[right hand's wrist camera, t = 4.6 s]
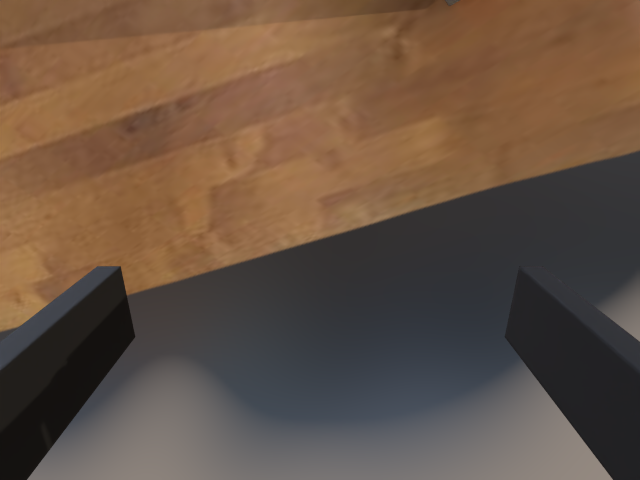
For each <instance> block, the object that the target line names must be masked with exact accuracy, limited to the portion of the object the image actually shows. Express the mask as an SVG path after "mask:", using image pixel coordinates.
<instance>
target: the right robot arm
mask: <svg viewBox="0 0 640 480" xmlns="http://www.w3.org/2000/svg"><path fill="white" fill-rule="evenodd" d="M134 338H135V334H134V329H133V324H132V319H131V314H130V310H129V305H128V300H127V295H126V290H125V285H124V281H123V276H122V271H121V266H97V267H96V268H95V269H93V270H92V271H91V272H89V273H88V274H87V275H86V276H84V277H83V278H82V279H80V280H79V281H78V282H77V283H75V284H74V285H73V286H71V287H70V288H69V289H68V290H66V291H65V292H64V293H62V294H61V295H60V296H59V297H57V298H56V299H55V300H53V301H52V302H51V303H50V304H48V305H47V306H46V307H44V308H43V309H42V310H41V311H39V312H38V313H37V314H35V315H34V316H33V317H32V318H30V319H29V320H28V321H26V322H25V323H24V324H23V325H21V326H20V327H19V328H17V329H16V330H15V331H14V332H12V333H11V334H10V335H8V336H7V337H6V338H4V339H3V340H2V341H1V342H0V480H27V479H28V477H29V476H30V475H31V474H32V472H33V471H34V470H35V468H36V467H37V466H38V464H39V463H40V462H41V460H42V459H43V458H44V456H45V455H46V454H47V452H48V451H49V450H50V448H51V447H52V446H53V445H54V443H55V442H56V441H57V439H58V438H59V437H60V435H61V434H62V433H63V431H64V430H65V429H66V427H67V426H68V425H69V423H70V422H71V421H72V419H73V418H74V417H75V416H76V414H77V413H78V412H79V410H80V409H81V408H82V406H83V405H84V404H85V402H86V401H87V400H88V398H89V397H90V396H91V395H92V393H93V392H94V391H95V389H96V388H97V387H98V385H99V384H100V383H101V381H102V380H103V379H104V377H105V376H106V375H107V373H108V372H109V371H110V369H111V368H112V367H113V366H114V364H115V363H116V362H117V360H118V359H119V358H120V356H121V355H122V354H123V352H124V351H125V350H126V348H127V347H128V346H129V344H130V343H131V342H132V341H133V339H134ZM505 338H506V339H507V341H508V342H509V343H510V344H511V346H512V347H513V348H514V350H515V351H516V352H517V354H518V355H519V356H520V358H521V359H522V360H523V362H524V363H525V364H526V366H527V367H528V368H529V369H530V371H531V372H532V373H533V375H534V376H535V377H536V379H537V380H538V381H539V383H540V384H541V385H542V387H543V388H544V389H545V391H546V392H547V393H548V395H549V396H550V397H551V398H552V400H553V401H554V402H555V404H556V405H557V406H558V408H559V409H560V410H561V412H562V413H563V414H564V416H565V417H566V418H567V420H568V421H569V422H570V423H571V425H572V426H573V427H574V429H575V430H576V431H577V433H578V434H579V435H580V437H581V438H582V439H583V441H584V442H585V443H586V445H587V446H588V447H589V448H590V450H591V451H592V452H593V454H594V455H595V456H596V458H597V459H598V460H599V462H600V463H601V464H602V466H603V467H604V468H605V470H606V471H607V472H608V474H609V475H610V476H611V477H612V479H613V480H640V342H639V341H638V340H637V339H635V338H634V337H633V336H632V335H630V334H629V333H628V332H626V331H625V330H624V329H623V328H621V327H620V326H619V325H617V324H616V323H615V322H614V321H612V320H611V319H610V318H608V317H607V316H606V315H605V314H603V313H602V312H601V311H599V310H598V309H597V308H596V307H594V306H593V305H592V304H590V303H589V302H588V301H587V300H585V299H584V298H583V297H581V296H580V295H579V294H578V293H576V292H575V291H574V290H572V289H571V288H570V287H568V286H567V285H566V284H565V283H563V282H562V281H561V280H559V279H558V278H557V277H556V276H554V275H553V274H552V273H551V272H549V271H548V270H547V269H545V268H544V267H542V266H520V267H519V271H518V276H517V281H516V285H515V290H514V295H513V300H512V305H511V310H510V314H509V319H508V324H507V329H506V334H505Z"/></svg>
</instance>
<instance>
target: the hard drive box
mask: <svg viewBox="0 0 640 480" xmlns="http://www.w3.org/2000/svg"><path fill="white" fill-rule="evenodd" d="M445 1H446V2H447V4H448V5H449V6H451V5H453V4H454V3H456V2H457V1H459V0H445Z"/></svg>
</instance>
